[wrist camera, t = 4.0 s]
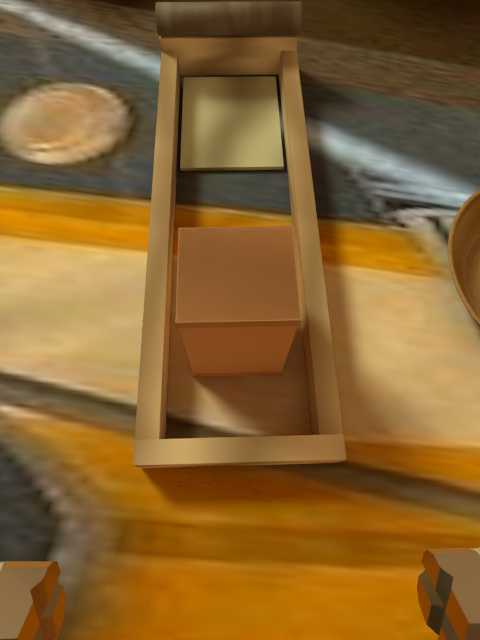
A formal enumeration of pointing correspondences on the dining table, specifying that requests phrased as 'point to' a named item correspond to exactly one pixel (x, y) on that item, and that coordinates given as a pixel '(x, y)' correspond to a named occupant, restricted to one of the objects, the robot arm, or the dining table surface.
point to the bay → (233, 154)
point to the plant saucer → (467, 254)
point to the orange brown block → (237, 299)
